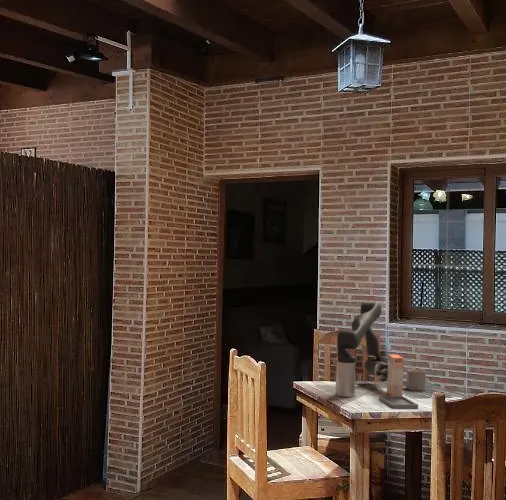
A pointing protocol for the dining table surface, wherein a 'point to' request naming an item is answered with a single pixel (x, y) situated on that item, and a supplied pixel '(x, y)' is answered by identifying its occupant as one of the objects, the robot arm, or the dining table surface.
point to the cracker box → (395, 375)
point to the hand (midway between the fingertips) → (393, 375)
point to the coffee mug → (415, 379)
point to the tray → (398, 402)
